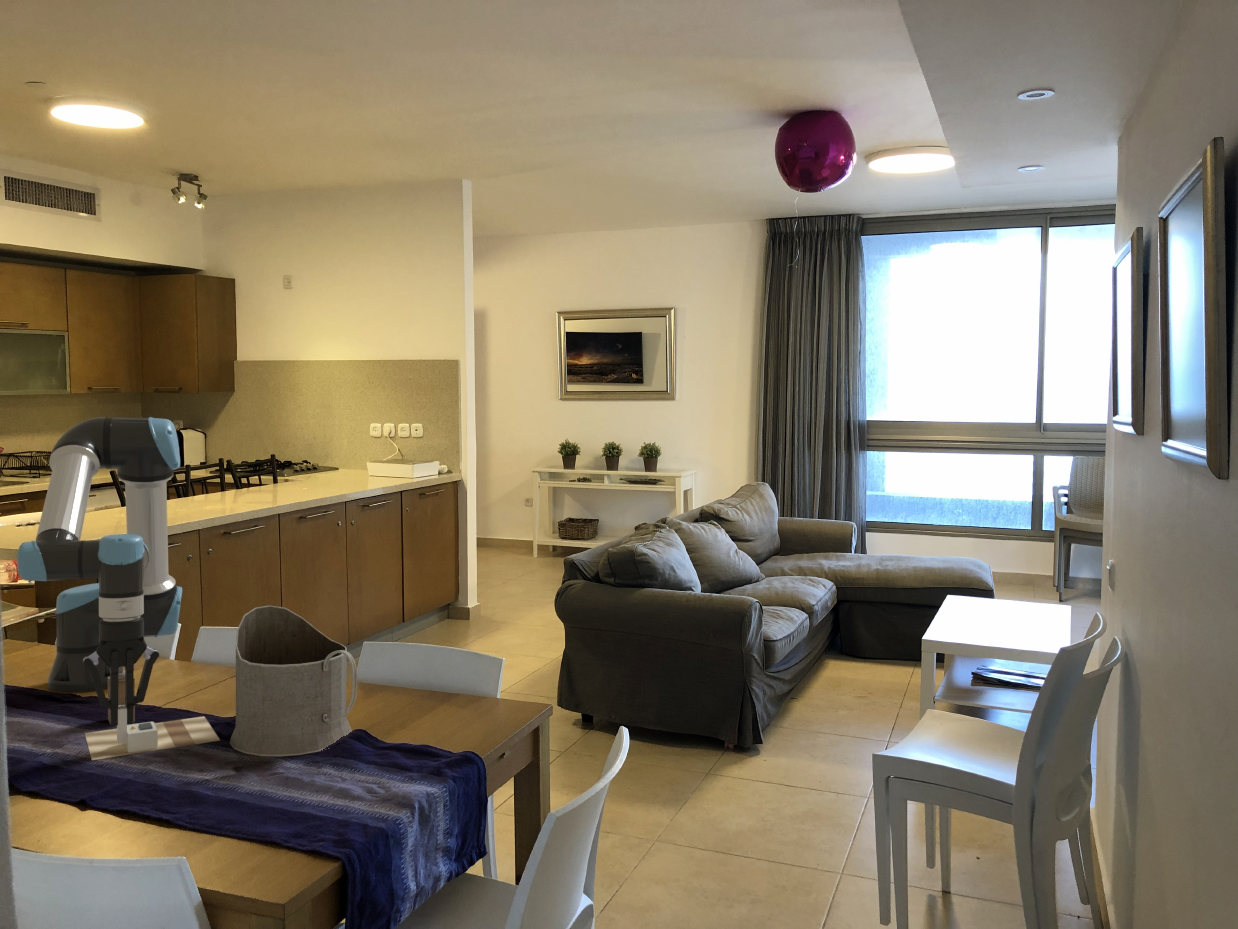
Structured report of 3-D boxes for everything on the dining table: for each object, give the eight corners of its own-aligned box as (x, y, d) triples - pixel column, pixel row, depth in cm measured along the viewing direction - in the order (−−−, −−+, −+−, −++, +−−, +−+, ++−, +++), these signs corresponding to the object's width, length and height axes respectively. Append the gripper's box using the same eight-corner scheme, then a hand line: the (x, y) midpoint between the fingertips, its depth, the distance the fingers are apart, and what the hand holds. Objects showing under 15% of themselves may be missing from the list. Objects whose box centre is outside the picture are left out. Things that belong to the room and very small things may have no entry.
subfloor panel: (84, 739, 190) (84, 733, 190) (204, 722, 202) (204, 716, 202) (91, 766, 176) (91, 760, 176) (220, 746, 188) (220, 740, 188)
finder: (124, 743, 185) (124, 722, 185) (153, 739, 188) (153, 718, 187) (128, 752, 180) (128, 731, 180) (157, 748, 183) (157, 727, 182)
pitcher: (306, 711, 211) (307, 598, 210) (402, 743, 192) (403, 619, 191) (206, 738, 192) (206, 614, 191) (302, 776, 174) (302, 639, 172)
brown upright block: (108, 724, 199) (107, 659, 199) (132, 721, 202) (131, 657, 201) (110, 730, 196) (109, 664, 195) (134, 727, 198) (134, 662, 197)
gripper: (83, 624, 174) (84, 753, 175) (162, 618, 181) (162, 741, 182) (80, 616, 180) (81, 740, 182) (157, 610, 187) (157, 730, 189)
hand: (121, 741), depth 182 cm, fingers closed
